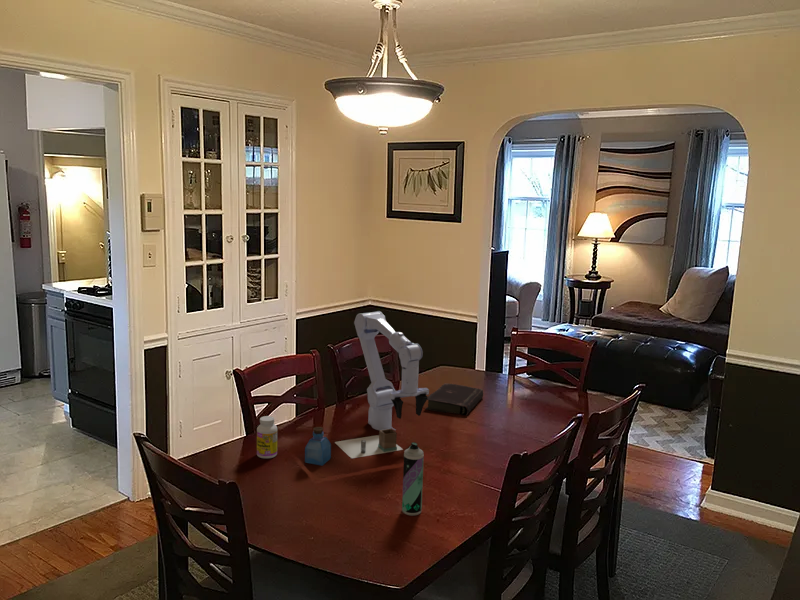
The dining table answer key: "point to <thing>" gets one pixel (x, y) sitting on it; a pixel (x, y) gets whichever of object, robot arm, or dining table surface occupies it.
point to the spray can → (412, 480)
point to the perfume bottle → (318, 448)
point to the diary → (454, 399)
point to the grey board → (354, 447)
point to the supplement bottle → (267, 438)
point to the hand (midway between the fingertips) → (408, 416)
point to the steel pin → (363, 446)
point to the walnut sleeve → (387, 440)
